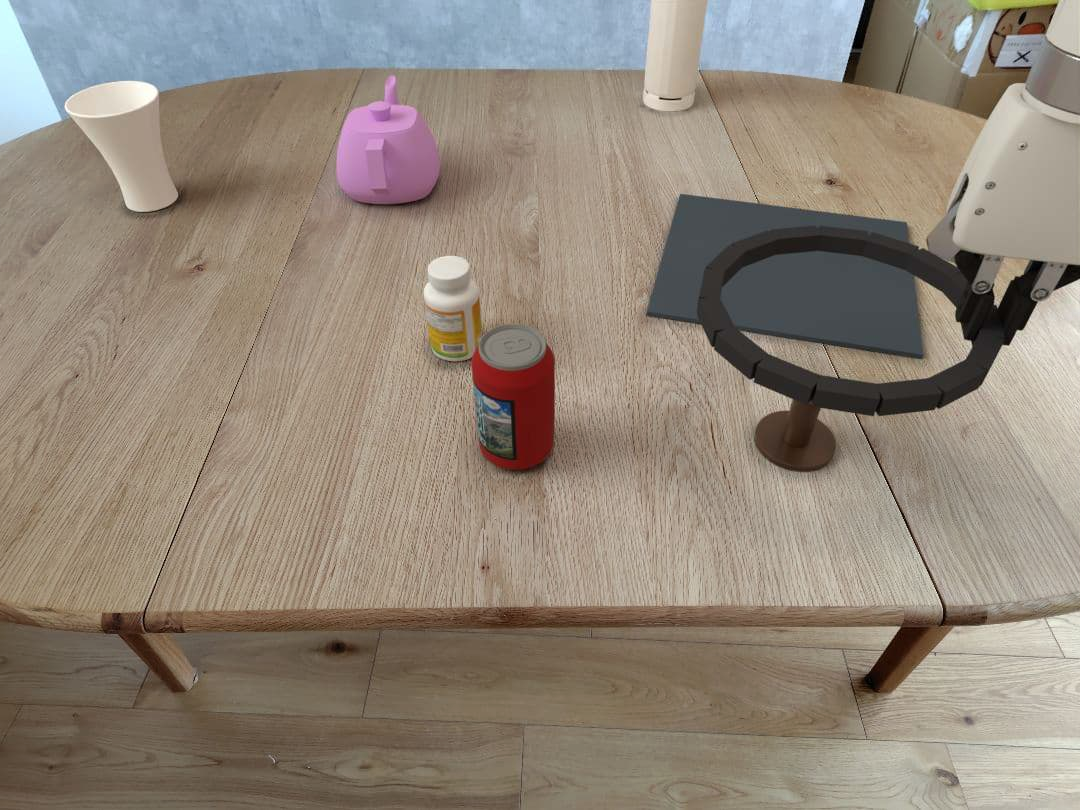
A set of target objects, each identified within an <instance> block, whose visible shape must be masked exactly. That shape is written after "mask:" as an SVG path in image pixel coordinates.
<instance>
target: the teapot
mask: <svg viewBox="0 0 1080 810" xmlns="http://www.w3.org/2000/svg"><path fill="white" fill-rule="evenodd" d="M440 172H441V162H440V156H439V151H438V148H437V144H436V141H435V138H434V135H433V133H432V132H431V130H430V128H429V125H428V124H427V123H426V121H425V119H424V118H423V115H421V114H420V112H419V111H418V109H416V108H415V107H413V106H409V105H405V104H400V102H399V97H398V90H397V78H396V76H395V75H389V76H388V77H387V78H386V81H385V85H384V100H377V101H374V102H373V101H372V102H371V103H369V104H368V105H364V106H359V107H356V108H354V109H352V110H351V111H350V112H348V115H347V116H346V118H345V121H344V123H343V126H342V130H341V132H340V136H339V140H338V144H337V150H336V179H337V183H338V185H339V187H340V189H341V190H342V191H343V192H344V193H345V194H346V195H347V196H348V197H349V198H350V199H352V200H353V201H356V202H360V203H365V204H372V205H373V204H374V205H395V204H396V205H397V204H405V203H412V202H415V201H418V200H422V199H424V198H426V197H428V196H429V195H430V194H431V192H432V190H433V189H434V187H435V185H436V183H437V181H438V178H439V176H440Z"/></svg>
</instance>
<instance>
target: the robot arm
mask: <svg viewBox="0 0 1080 810" xmlns="http://www.w3.org/2000/svg"><path fill="white" fill-rule="evenodd" d="M1056 5H1057V6H1056V7H1055V10H1054V13H1053V15H1052V18H1051V20H1050V22H1049V25H1048V28H1047V30H1046V33H1045V35H1044V37H1043V39H1042V42H1041V44H1040V46H1039V49H1038V51H1037V53H1036V56H1035V59H1034V61H1033V64H1032V66H1031V68H1030V71H1029V73H1028V76H1027V78H1026V80H1025V82H1017V83H1012V84H1010V85H1009V86H1008V87H1007V89H1006V90H1005V92H1004V93H1003V94H1002V96H1001V98H1000V99H999V100H998V102H997V103H996V105H995V106H994V109H993V110H992V111H991V113H990V115H989V116H988V118H987V120H986V122H985V123H984V126H983V127H982V129H981V131H980V133H979V135H978V137H977V139H976V141H975V142H974V145H973V147H972V148H971V150H970V153H969V155H968V157H967V159H966V161H965V163H964V165H963V167H962V169H961V171H960V173H959V175H958V178H957V179H956V182H955V184H954V186H953V189H952V191H951V194H950V196H949V200H948V202H947V205H946V211H945V215H944V216H943V217H942V219H941V220H940V221H939V222H938V223H937V224H936V225H935V227H934V228H932V230H931V231H930V232H929V233H928V235H927V236H926V240H925V241H926V247H927V250H928V251H929V252H930V253H932V254H934V255H936V256H938V257H940V258H942V259H944V260H946V261H947V262H950V263H952V264H955V266H956V267H958V268H959V270H960V271H961V273H962V274H963V275H964V277H965V278H966V279H967V281H968V282H967V285H966V287H965V289H964V292H963V294H962V296H961V298H960V301H959V303H958V305H957V308H956V307H955V311H954V318H955V322H956V323H959V324H960V326H961V330H962V337H963V340H964V341H970V342H971V341H973V340H974V339H976V337H977V335H978V333H979V331H980V330H981V328H982V326H983V324H984V322H985V320H986V317H987V315H988V313H989V311H990V309H991V307H992V305H993V303H994V304H995V300H996V296H995V292H994V287H995V281H996V278H997V276H998V273H999V271H1000V269H1001V267H1002V264H1003V262H1004V260H1005V258H1011V259H1018V260H1027V261H1028V263H1027V265H1026V266H1025V268H1024V271H1023V274H1021V275H1020V276H1019V275H1015V276H1014V278H1013V279H1011V280H1010V281H1009V283H1008V286H1007V288H1006V290H1005V292H1004V294H1003V296H1002V298H1001V300H1000V302H999V304H998V305H997V309H998V313H999V317H1000V321H1001V324H1002V328H1003V332H1004V335H1005V338H1004V340H1005V341H1004V343H1003V345H1002V346H1007V347H1009V346H1010V345H1011V343H1012V342H1013V339H1014V337H1015V336H1016V334H1017V332H1018V331H1021V332H1023V330H1024V329H1025V328H1026V326H1027V324H1028V322H1029V320H1030V318H1031V316H1032V315H1033V312H1034V311H1035V309H1036V307H1037V305H1038V303H1039V302H1044V301H1046V300H1047V299H1050V297H1051V296H1052V293H1053V292H1054V291H1056V290H1059V289H1061V288H1064V287H1067V286H1069V285H1070V284H1072V283H1073V284H1074V283H1075V282H1077V281H1079V280H1080V0H1058V3H1057V4H1056Z"/></svg>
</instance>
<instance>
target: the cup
mask: <svg viewBox="0 0 1080 810" xmlns="http://www.w3.org/2000/svg"><path fill="white" fill-rule="evenodd" d="M159 92H160V91H159V90H158V89H157V87H156V86H155V85H153V84H151V83H149V82H145V81H138V80H120V81H112V82H111V81H110V82H105V83H102V84H100V83H99V84H95V85H93V86H89V87H86V88H84V89H82V90H80V91H77V92H76V93H74V94H73V95H71V96H70V97H68V99H66V100H65V103H64V109H65V111H66V113H67V114H68V115H69V116H70V117H71V118H72V120H73V121H74V123H76V124H77V126H78V127H79V128H80V129H81V130H82V132H83V133H84V134H85V135H86V137H88V139H89V140H90V141H91V143H92V144H93V145H94V146H95V147H96V149H97V150H98V151H99V152H100V154H101V156H102V157H103V158H104V161H105V162H106V163H107V165H108V166H109V168H110V169H111V171H112V173H113V174H114V177H115V179H116V181H117V183H118V185H119V188H120V190H121V194H122V197H123V200H124V202H125V206H126V208H127V209H129V210H130V211H133V212H140V213H149V212H154V211H158V210H161V209H164V208H167V207H169V206H170V205H172V204H173V203H175V202H176V201H177V199H178V198H179V192H178V190H177V188H176V186H175V184H174V183H173V180H172V178H171V176H170V173H169V170H168V169H169V168H168V166H167V163H166V159H165V156H164V150H163V144H162V138H161V124H160V123H161V122H160V95H159V94H160V93H159Z"/></svg>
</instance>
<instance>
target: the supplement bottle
mask: <svg viewBox="0 0 1080 810" xmlns="http://www.w3.org/2000/svg"><path fill="white" fill-rule="evenodd" d="M471 273H472V272H471V265H470V263H469V261H468V260H467V259H465V258H463V257H462V256H458V255H443V256H440V257H437V258H435V259H433V260H432V261H431V262H429V264H428V266H427V279H428V281H427V283H426V284H425V286H424V288H423V302H424V309H425V317H426V321H427V322H426V323H427V328H428V330H427V331H428V335H429V337H428V338H429V344H430V348H431V351H432V353H433V354H434V355H435V356H437V358H439V359H442V360H444V361H449V362H463V361H467V360H470V359H472V357H473V354H474V352H475V350H476V349H477V347H478V346H479V342H480V339H481V338H482V336H483V335H484V334H483V327H482V313H481V299H480V291H479V286H478V284H477V282H476V281H475V280H474V279H473V278H472V277H471V276H472V275H471Z"/></svg>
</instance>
